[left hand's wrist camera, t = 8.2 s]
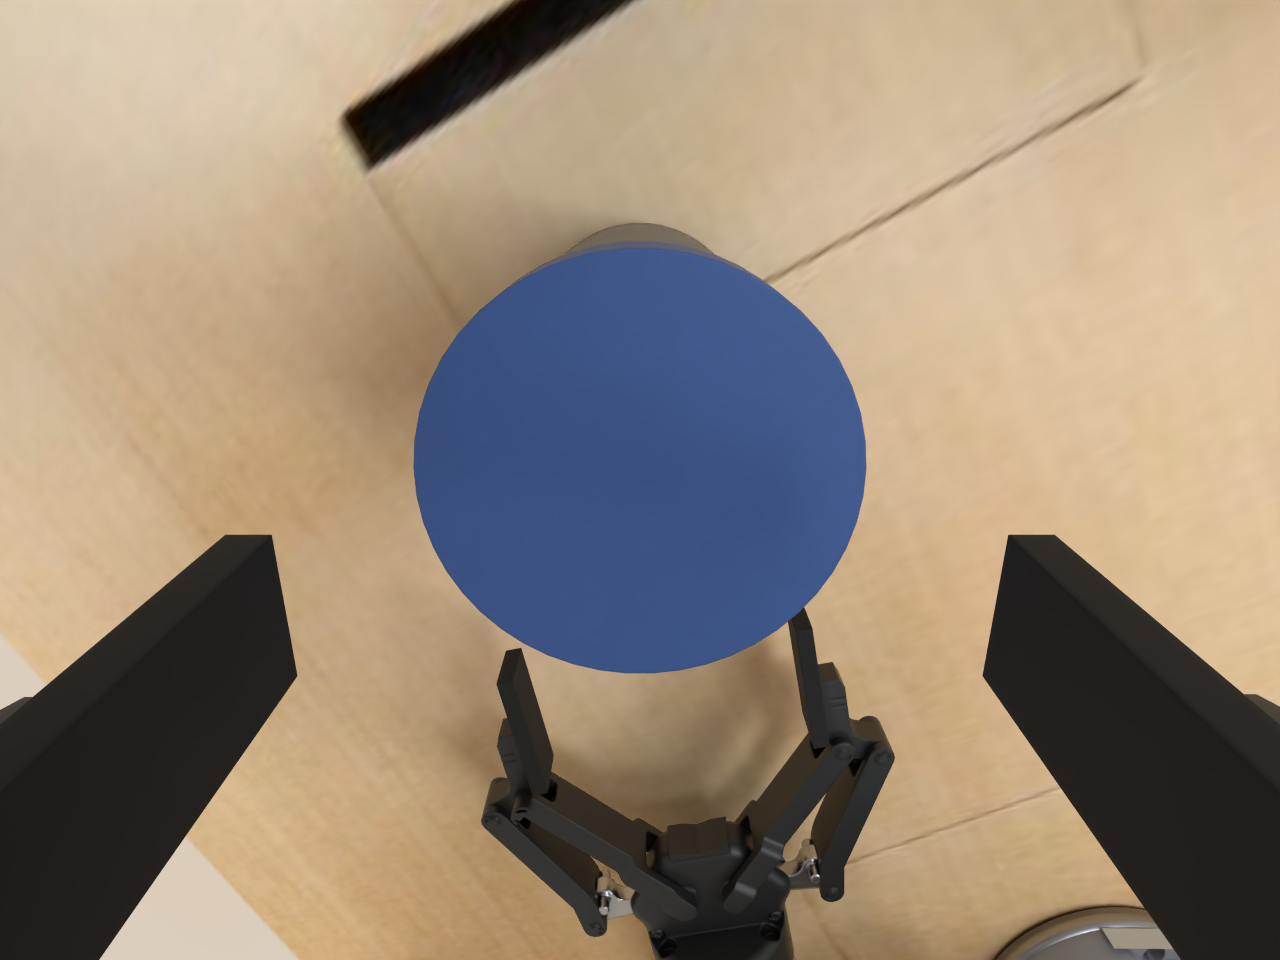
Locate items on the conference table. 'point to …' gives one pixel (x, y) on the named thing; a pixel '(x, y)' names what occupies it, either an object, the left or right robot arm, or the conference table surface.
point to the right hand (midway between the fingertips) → (651, 638)
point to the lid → (639, 458)
